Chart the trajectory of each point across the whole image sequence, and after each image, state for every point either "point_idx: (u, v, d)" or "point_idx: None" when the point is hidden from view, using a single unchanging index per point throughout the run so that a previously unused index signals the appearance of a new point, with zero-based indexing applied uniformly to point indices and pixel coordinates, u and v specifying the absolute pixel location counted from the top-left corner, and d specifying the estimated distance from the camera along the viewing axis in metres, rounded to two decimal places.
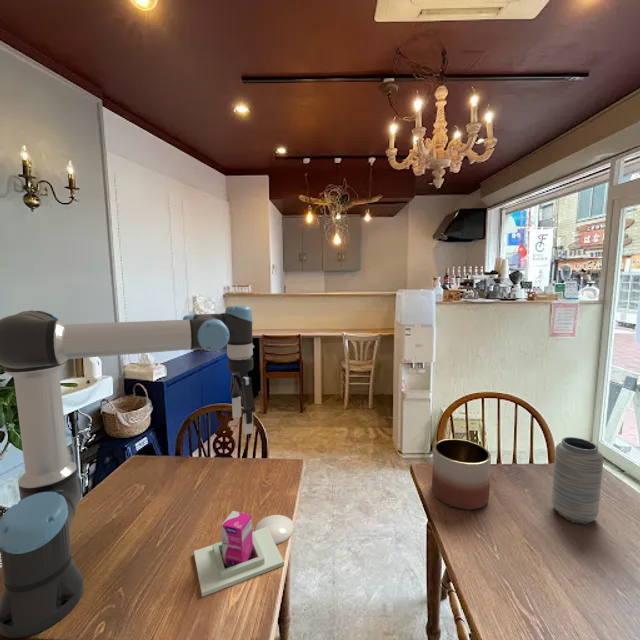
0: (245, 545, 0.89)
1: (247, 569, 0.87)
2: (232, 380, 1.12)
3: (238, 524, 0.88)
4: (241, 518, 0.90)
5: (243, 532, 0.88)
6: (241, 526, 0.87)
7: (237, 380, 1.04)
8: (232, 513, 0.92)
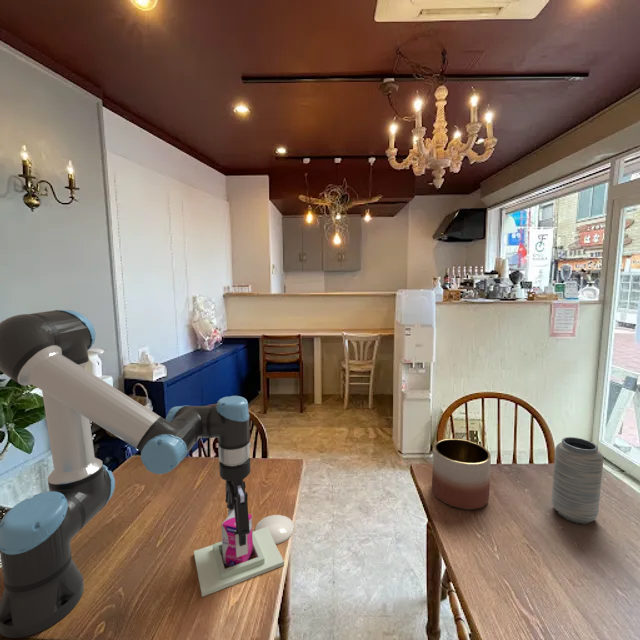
0: None
1: (247, 569, 0.87)
2: (226, 485, 0.94)
3: None
4: None
5: None
6: None
7: (231, 490, 0.86)
8: (232, 513, 0.92)
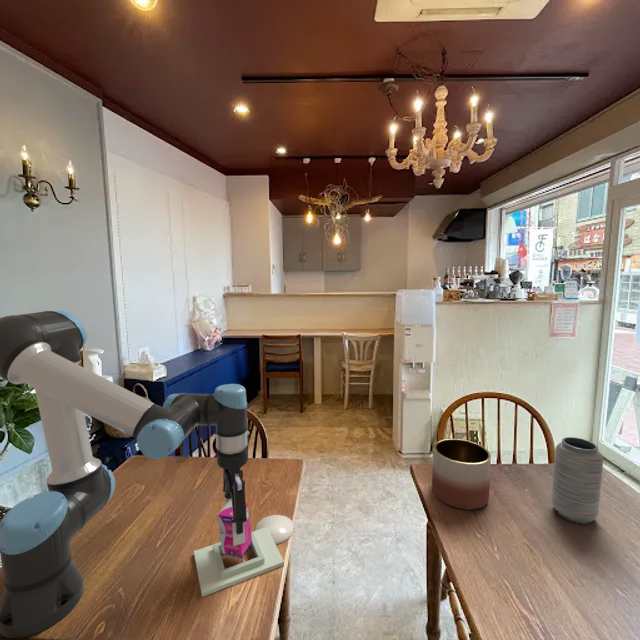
0: None
1: (247, 569, 0.87)
2: (224, 474, 0.93)
3: None
4: None
5: None
6: None
7: (228, 478, 0.86)
8: (228, 503, 0.91)
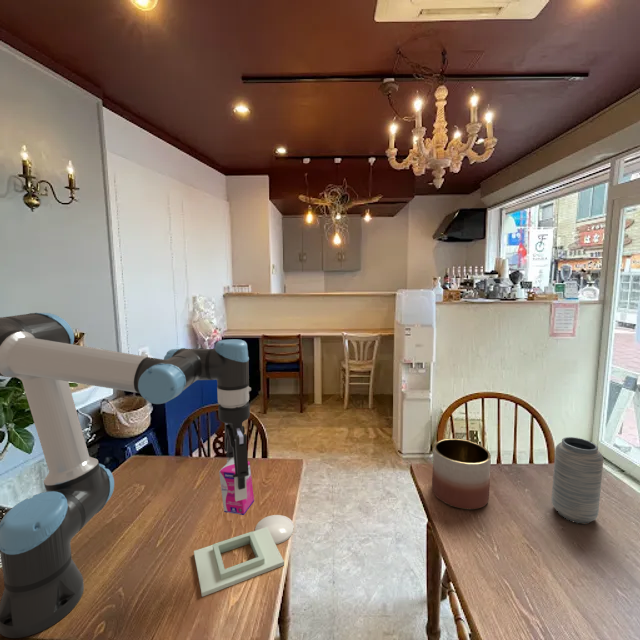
0: None
1: (247, 569, 0.87)
2: (226, 432, 0.92)
3: None
4: None
5: None
6: None
7: (230, 433, 0.85)
8: (230, 461, 0.91)
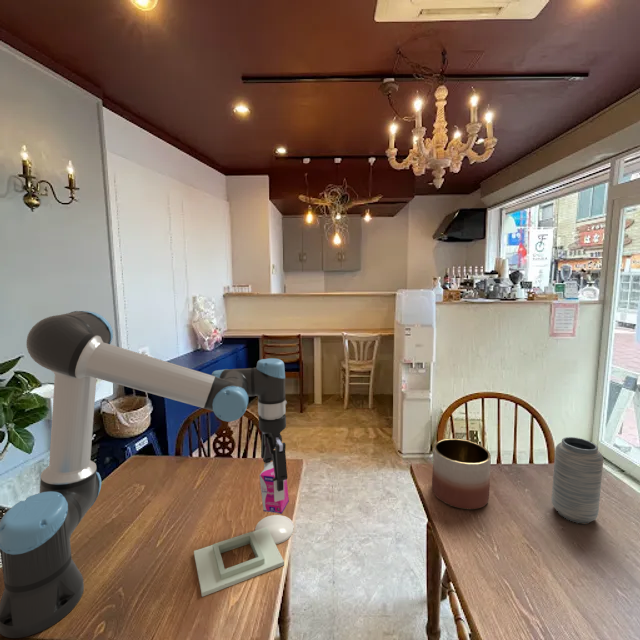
0: None
1: (247, 569, 0.87)
2: (263, 440, 1.03)
3: None
4: None
5: None
6: None
7: (269, 441, 0.96)
8: (267, 466, 1.02)
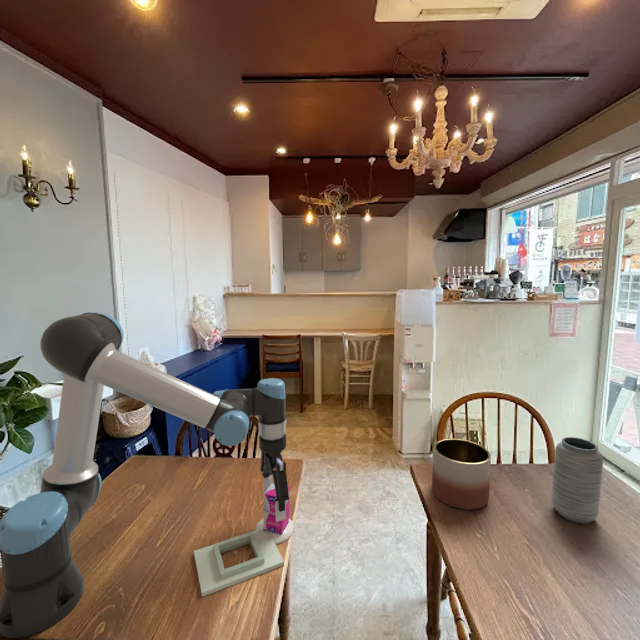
0: None
1: (247, 569, 0.87)
2: (263, 457, 1.04)
3: None
4: None
5: None
6: None
7: (270, 461, 0.97)
8: (272, 485, 1.03)
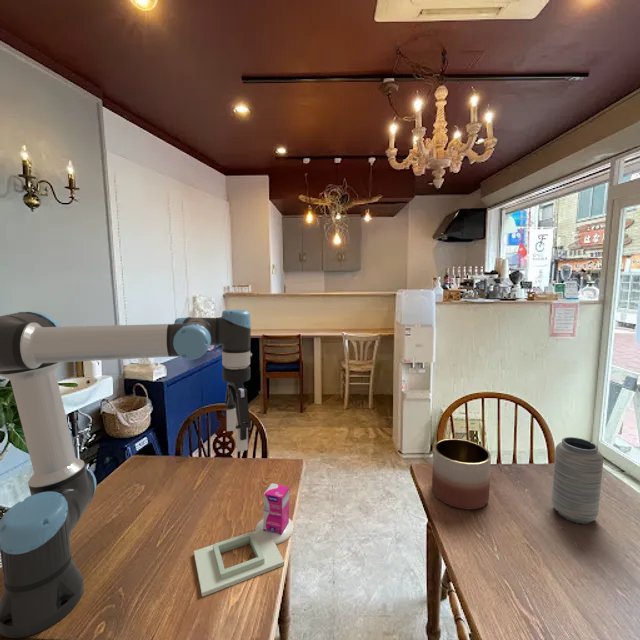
0: (284, 512, 0.99)
1: (247, 569, 0.87)
2: (227, 390, 1.04)
3: (278, 493, 0.99)
4: (280, 489, 1.01)
5: (283, 500, 0.98)
6: (281, 495, 0.98)
7: (232, 391, 0.95)
8: (271, 485, 1.03)
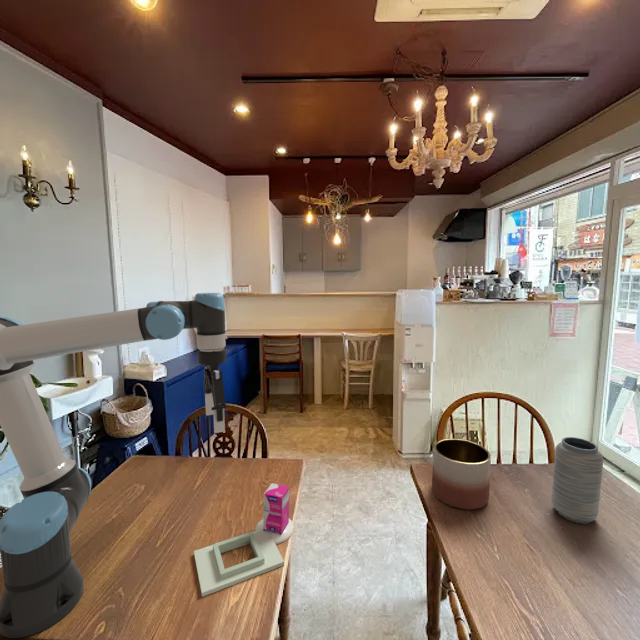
0: (284, 512, 0.99)
1: (247, 569, 0.87)
2: (205, 374, 1.04)
3: (278, 493, 0.99)
4: (280, 489, 1.01)
5: (283, 500, 0.98)
6: (281, 495, 0.98)
7: (208, 374, 0.96)
8: (271, 485, 1.03)
